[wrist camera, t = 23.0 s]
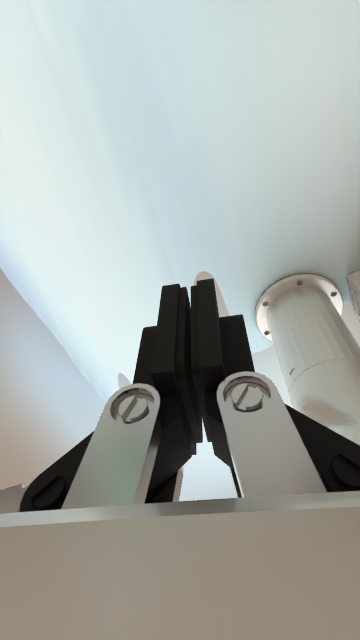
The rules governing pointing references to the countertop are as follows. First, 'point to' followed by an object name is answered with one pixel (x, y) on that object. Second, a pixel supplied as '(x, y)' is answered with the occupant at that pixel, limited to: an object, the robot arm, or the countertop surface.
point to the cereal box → (355, 291)
